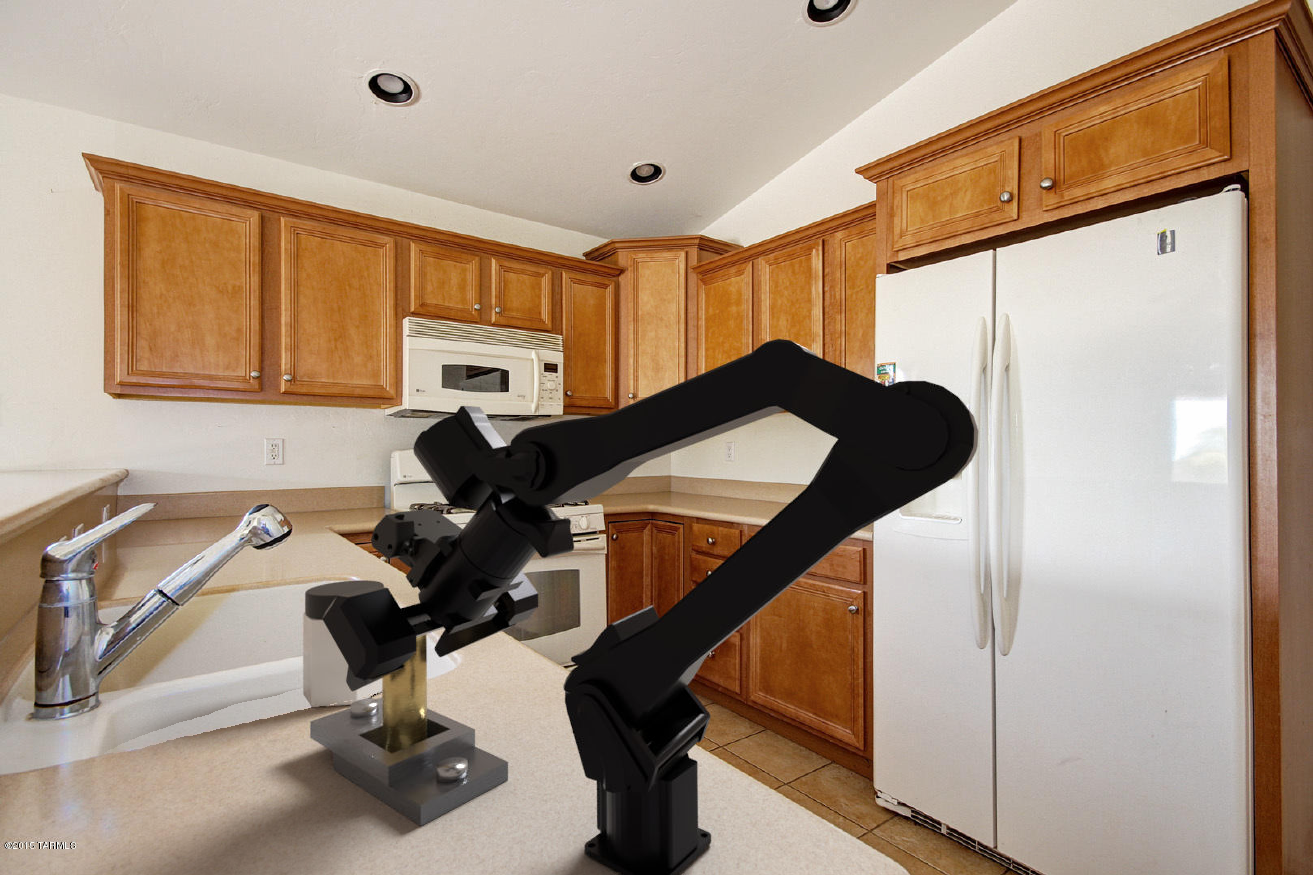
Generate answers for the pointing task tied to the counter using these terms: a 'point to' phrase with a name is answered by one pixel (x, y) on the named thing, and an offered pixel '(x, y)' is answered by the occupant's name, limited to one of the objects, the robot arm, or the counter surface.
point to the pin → (406, 702)
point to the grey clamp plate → (409, 761)
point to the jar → (328, 650)
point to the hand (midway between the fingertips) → (397, 668)
